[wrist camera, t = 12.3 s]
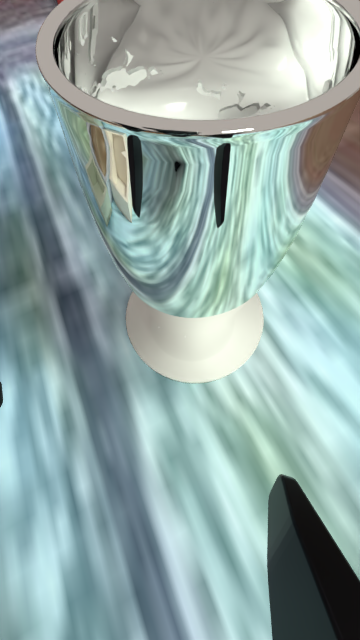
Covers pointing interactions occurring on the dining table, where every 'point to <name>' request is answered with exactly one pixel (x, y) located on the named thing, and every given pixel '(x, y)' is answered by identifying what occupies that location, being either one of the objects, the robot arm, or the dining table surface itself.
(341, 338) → the dining table surface
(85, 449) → the dining table surface
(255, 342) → the stone coaster
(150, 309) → the beer glass
